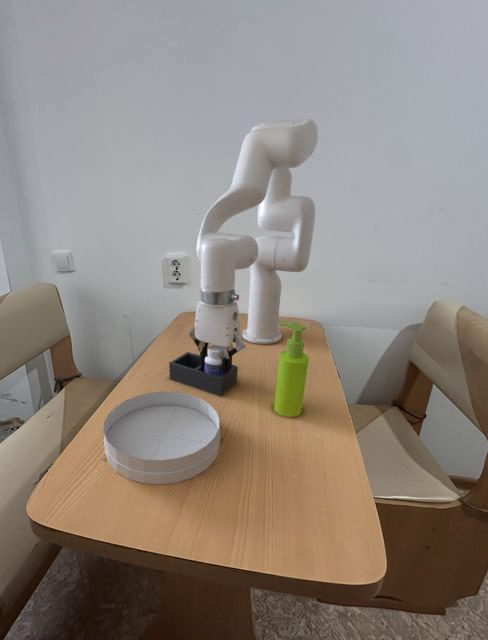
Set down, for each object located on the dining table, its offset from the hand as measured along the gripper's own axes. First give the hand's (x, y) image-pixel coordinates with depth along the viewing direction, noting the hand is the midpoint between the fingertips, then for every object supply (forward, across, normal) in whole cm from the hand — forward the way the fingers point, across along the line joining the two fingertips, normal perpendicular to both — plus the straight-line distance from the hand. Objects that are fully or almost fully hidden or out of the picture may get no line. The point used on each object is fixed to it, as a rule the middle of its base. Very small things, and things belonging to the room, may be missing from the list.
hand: (215, 367), depth 91 cm
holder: (+5, +4, 0) cm, 6 cm away
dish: (+5, -3, +25) cm, 26 cm away
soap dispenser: (+5, -19, 0) cm, 19 cm away
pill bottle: (+4, 0, 0) cm, 4 cm away
